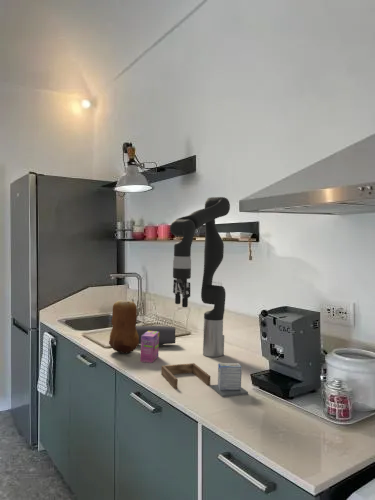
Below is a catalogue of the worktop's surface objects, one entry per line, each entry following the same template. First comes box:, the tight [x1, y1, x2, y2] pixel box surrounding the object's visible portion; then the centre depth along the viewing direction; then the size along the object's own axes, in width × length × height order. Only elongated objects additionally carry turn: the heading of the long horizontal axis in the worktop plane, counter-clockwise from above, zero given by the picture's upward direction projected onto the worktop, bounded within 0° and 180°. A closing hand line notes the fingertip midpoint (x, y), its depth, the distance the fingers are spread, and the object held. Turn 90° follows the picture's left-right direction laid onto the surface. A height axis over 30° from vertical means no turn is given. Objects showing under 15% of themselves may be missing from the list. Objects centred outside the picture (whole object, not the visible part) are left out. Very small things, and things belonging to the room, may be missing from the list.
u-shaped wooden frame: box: [160, 362, 211, 390], centre depth 160 cm, size 14×17×4 cm
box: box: [139, 331, 160, 364], centre depth 187 cm, size 10×6×12 cm, turn 168°
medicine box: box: [217, 362, 243, 390], centre depth 150 cm, size 8×4×9 cm, turn 96°
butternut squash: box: [108, 299, 140, 354], centre depth 197 cm, size 14×13×25 cm
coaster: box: [210, 384, 249, 398], centre depth 150 cm, size 10×10×1 cm
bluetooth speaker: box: [136, 325, 177, 347], centre depth 212 cm, size 23×9×10 cm, turn 95°
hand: (181, 305), depth 174 cm, fingers open, 8 cm apart
